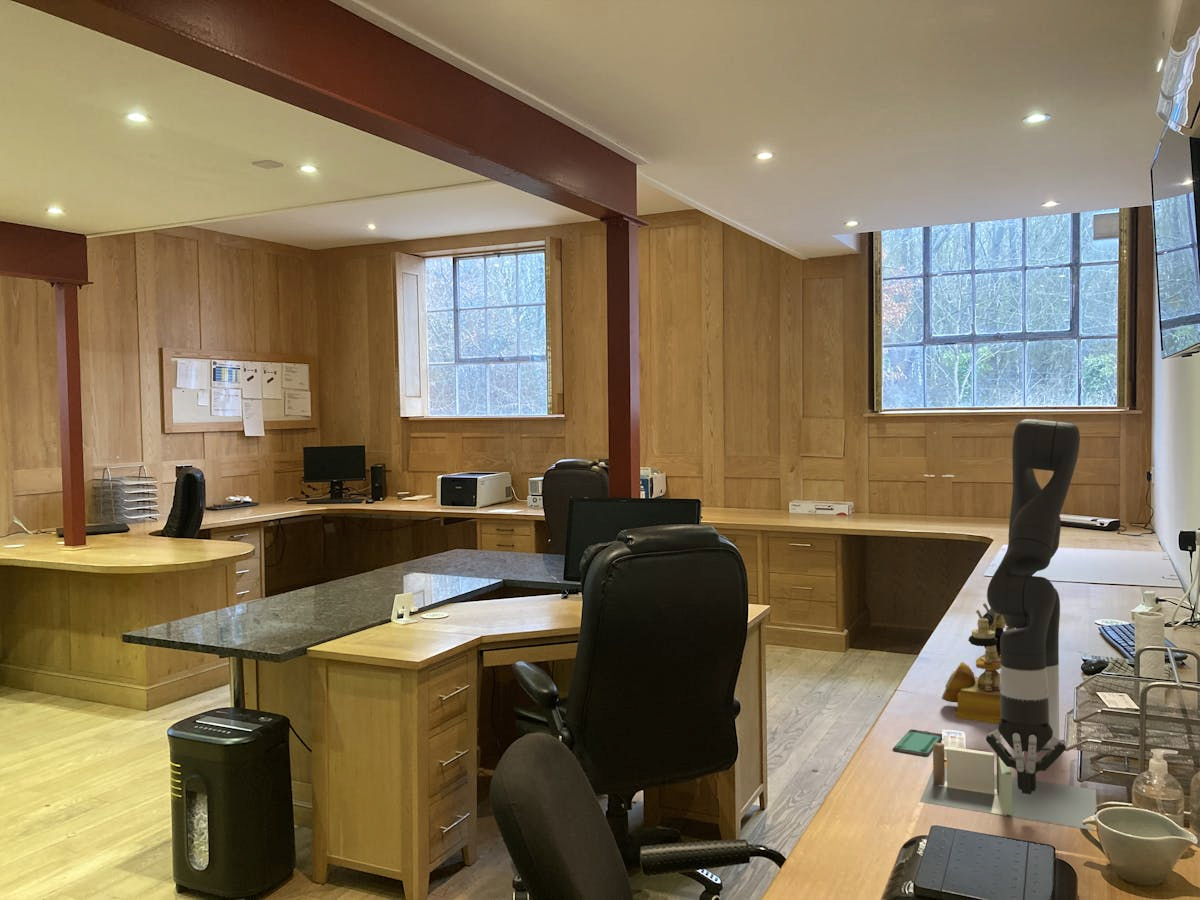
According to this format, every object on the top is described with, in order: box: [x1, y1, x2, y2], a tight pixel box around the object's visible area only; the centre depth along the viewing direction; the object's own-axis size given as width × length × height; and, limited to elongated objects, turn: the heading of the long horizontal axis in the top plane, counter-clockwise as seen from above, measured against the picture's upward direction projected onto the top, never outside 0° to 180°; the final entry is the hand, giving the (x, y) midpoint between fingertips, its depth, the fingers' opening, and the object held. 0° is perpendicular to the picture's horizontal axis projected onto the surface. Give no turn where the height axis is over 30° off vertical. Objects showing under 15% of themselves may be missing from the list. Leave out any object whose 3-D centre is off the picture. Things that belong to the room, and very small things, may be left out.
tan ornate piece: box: [941, 602, 1016, 725], centre depth 218 cm, size 35×18×25 cm, turn 148°
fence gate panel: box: [999, 757, 1013, 815], centre depth 161 cm, size 9×2×7 cm, turn 160°
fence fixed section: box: [932, 742, 999, 794], centre depth 169 cm, size 2×13×7 cm, turn 62°
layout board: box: [919, 766, 1098, 832], centre depth 165 cm, size 19×28×1 cm
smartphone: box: [892, 729, 943, 758], centre depth 194 cm, size 7×1×15 cm
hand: (1026, 792), depth 157 cm, fingers closed
